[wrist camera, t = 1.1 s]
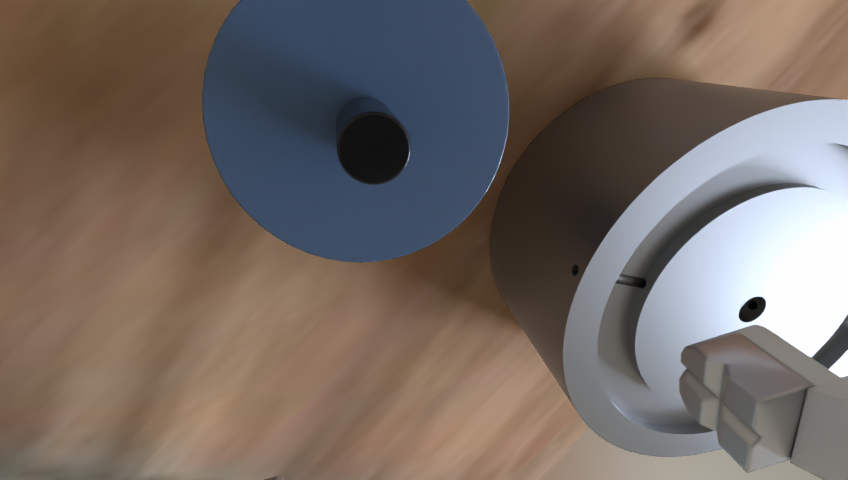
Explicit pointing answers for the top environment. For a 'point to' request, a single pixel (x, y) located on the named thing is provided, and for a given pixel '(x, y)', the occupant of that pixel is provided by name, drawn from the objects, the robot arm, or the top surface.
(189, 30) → the top surface
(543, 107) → the top surface
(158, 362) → the top surface
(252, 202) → the tin lid
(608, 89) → the container
